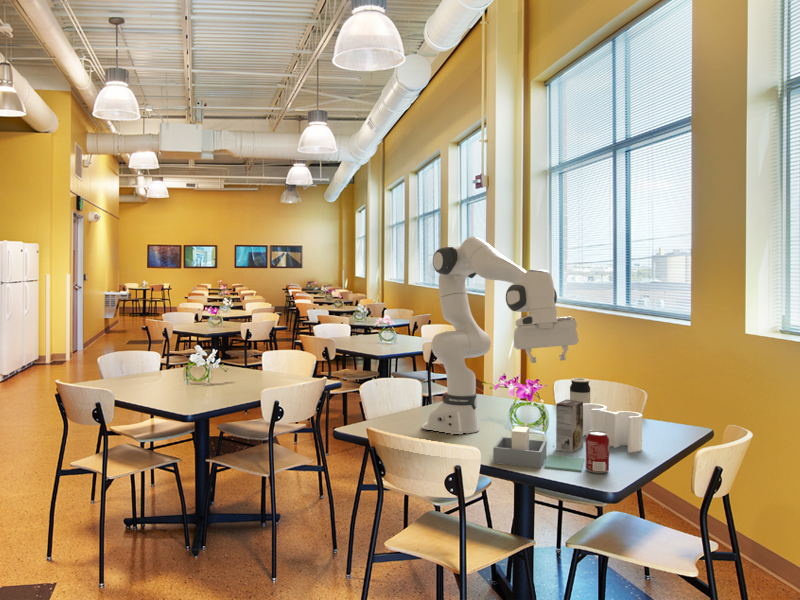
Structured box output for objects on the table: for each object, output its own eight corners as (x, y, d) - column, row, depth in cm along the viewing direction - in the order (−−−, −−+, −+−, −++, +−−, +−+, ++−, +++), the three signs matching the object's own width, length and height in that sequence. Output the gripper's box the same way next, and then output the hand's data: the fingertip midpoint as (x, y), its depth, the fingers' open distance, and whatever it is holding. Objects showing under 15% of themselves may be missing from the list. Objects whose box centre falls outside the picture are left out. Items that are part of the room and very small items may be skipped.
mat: (544, 468, 185) (544, 466, 185) (549, 456, 197) (549, 454, 197) (581, 471, 181) (581, 470, 181) (583, 459, 193) (583, 458, 193)
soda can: (608, 475, 177) (608, 436, 177) (584, 473, 180) (585, 434, 179) (609, 469, 183) (609, 430, 183) (586, 466, 186) (586, 428, 185)
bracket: (648, 449, 205) (648, 414, 205) (631, 453, 200) (631, 418, 200) (589, 433, 226) (590, 402, 226) (572, 437, 221) (572, 405, 221)
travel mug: (570, 424, 239) (571, 380, 239) (568, 420, 247) (569, 377, 247) (591, 425, 238) (591, 381, 237) (588, 421, 246) (589, 378, 245)
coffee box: (566, 443, 212) (566, 398, 212) (583, 446, 208) (583, 401, 207) (555, 449, 205) (555, 403, 204) (573, 452, 201) (573, 405, 200)
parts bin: (493, 463, 190) (493, 447, 190) (501, 451, 203) (501, 436, 203) (541, 468, 184) (541, 452, 184) (546, 455, 198) (546, 440, 197)
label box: (511, 461, 191) (511, 431, 191) (515, 455, 198) (515, 426, 197) (525, 463, 190) (525, 432, 189) (528, 457, 196) (529, 427, 196)
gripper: (572, 316, 193) (577, 358, 192) (510, 321, 193) (514, 364, 192) (578, 314, 187) (583, 358, 186) (514, 320, 187) (518, 364, 185)
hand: (548, 361), depth 189 cm, fingers open, 8 cm apart
